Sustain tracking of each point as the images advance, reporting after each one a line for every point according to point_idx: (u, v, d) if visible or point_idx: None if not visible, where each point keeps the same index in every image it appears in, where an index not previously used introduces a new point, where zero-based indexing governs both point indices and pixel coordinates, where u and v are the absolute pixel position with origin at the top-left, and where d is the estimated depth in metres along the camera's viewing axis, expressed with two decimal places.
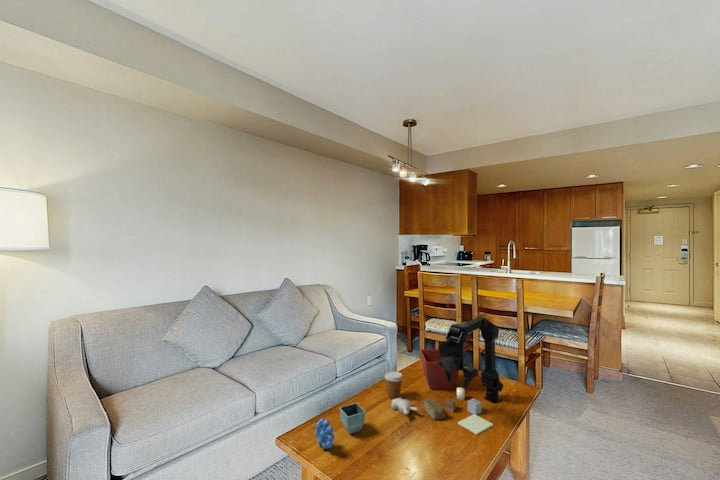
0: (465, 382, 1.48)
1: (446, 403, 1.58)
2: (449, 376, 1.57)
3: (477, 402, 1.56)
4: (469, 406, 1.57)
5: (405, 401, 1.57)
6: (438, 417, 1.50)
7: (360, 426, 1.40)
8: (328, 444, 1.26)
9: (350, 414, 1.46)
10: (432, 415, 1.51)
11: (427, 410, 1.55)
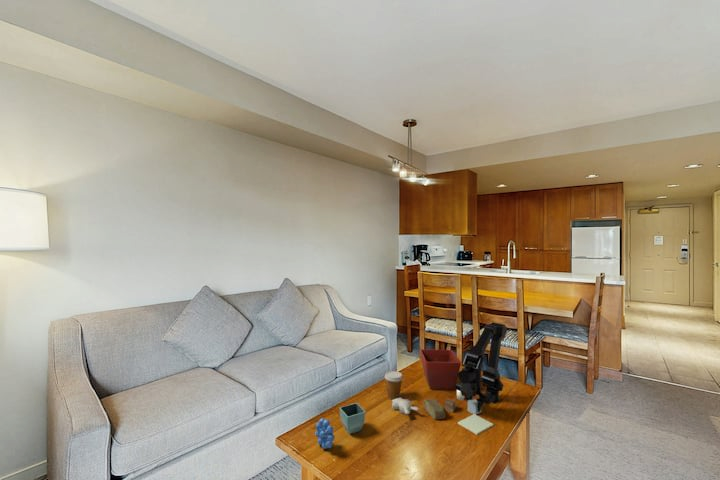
0: (478, 405, 1.54)
1: (446, 403, 1.58)
2: None
3: (477, 402, 1.56)
4: (469, 405, 1.57)
5: (406, 401, 1.57)
6: (439, 417, 1.50)
7: (360, 426, 1.40)
8: (328, 444, 1.26)
9: (350, 414, 1.46)
10: (433, 415, 1.51)
11: (428, 409, 1.55)
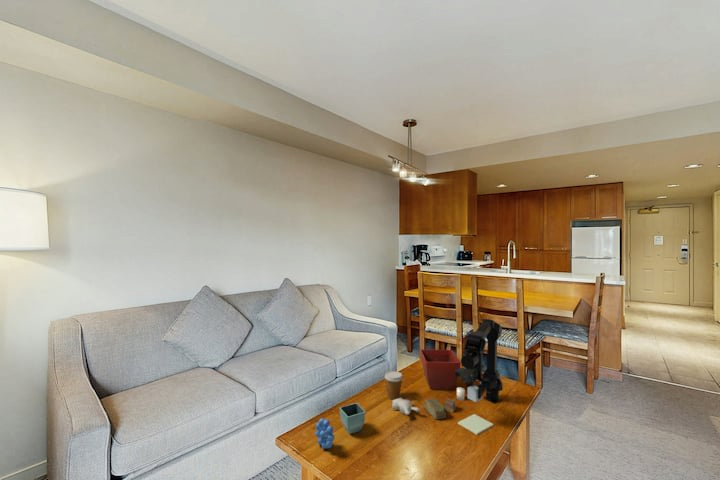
0: (479, 392, 1.45)
1: (446, 403, 1.58)
2: None
3: None
4: (470, 392, 1.48)
5: (406, 401, 1.57)
6: (439, 417, 1.50)
7: (360, 426, 1.40)
8: (328, 444, 1.26)
9: (350, 414, 1.46)
10: (433, 415, 1.51)
11: (429, 409, 1.55)
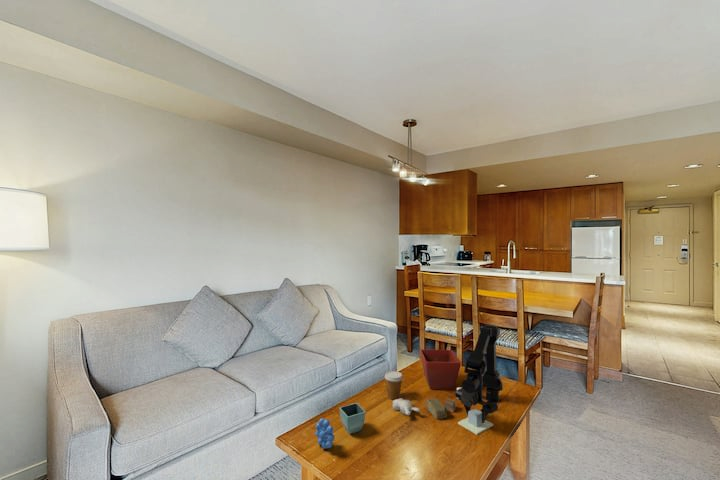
0: (482, 416, 1.42)
1: (446, 403, 1.58)
2: (468, 409, 1.50)
3: (478, 413, 1.46)
4: (470, 417, 1.46)
5: (406, 402, 1.57)
6: (440, 416, 1.50)
7: (360, 426, 1.40)
8: (328, 444, 1.26)
9: (350, 414, 1.46)
10: (434, 414, 1.52)
11: (430, 409, 1.56)
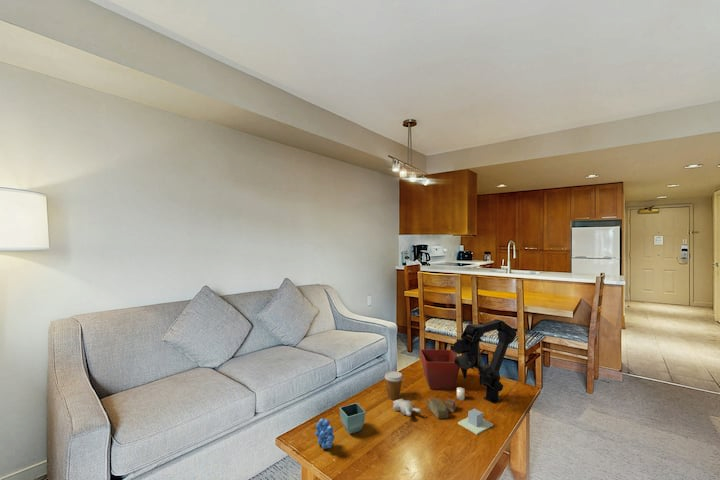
0: (480, 378, 1.58)
1: (446, 403, 1.58)
2: (464, 373, 1.66)
3: (478, 413, 1.46)
4: (470, 417, 1.46)
5: (407, 402, 1.56)
6: (442, 416, 1.51)
7: (360, 426, 1.40)
8: (328, 444, 1.26)
9: (350, 414, 1.46)
10: (436, 414, 1.52)
11: (432, 408, 1.56)
